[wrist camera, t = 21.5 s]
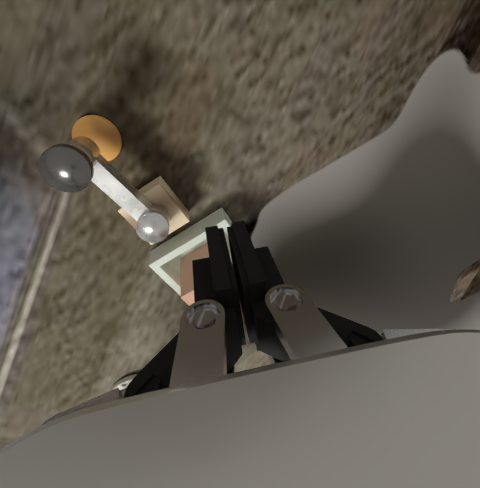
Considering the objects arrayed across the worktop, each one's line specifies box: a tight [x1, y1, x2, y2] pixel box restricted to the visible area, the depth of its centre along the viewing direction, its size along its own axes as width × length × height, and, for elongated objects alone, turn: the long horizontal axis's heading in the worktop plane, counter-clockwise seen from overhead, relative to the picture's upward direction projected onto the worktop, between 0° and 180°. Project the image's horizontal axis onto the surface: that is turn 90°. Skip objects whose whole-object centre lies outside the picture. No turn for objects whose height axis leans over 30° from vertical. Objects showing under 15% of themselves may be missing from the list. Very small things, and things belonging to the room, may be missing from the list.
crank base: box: [72, 115, 189, 245], centre depth 34 cm, size 16×6×3 cm, turn 30°
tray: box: [149, 207, 233, 296], centre depth 41 cm, size 10×12×4 cm
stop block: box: [180, 243, 209, 306], centre depth 39 cm, size 4×6×8 cm, turn 120°
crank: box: [39, 136, 170, 243], centre depth 30 cm, size 14×4×6 cm, turn 35°
